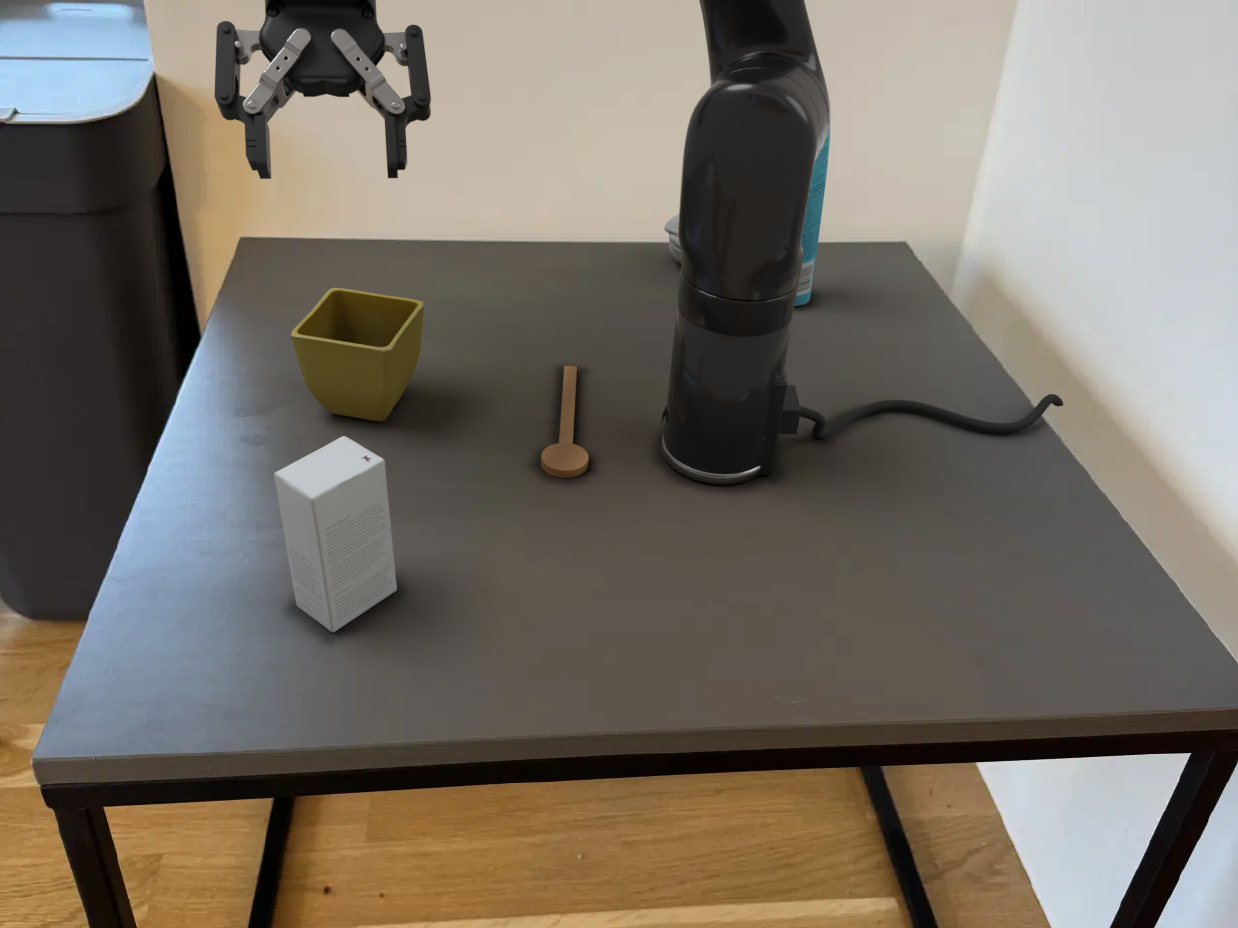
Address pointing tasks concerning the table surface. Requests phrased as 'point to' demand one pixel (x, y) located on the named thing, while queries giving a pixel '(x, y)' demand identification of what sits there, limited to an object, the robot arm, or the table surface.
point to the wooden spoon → (566, 436)
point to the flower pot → (359, 351)
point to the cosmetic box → (337, 531)
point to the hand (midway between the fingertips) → (329, 174)
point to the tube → (812, 224)
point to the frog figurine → (674, 238)
